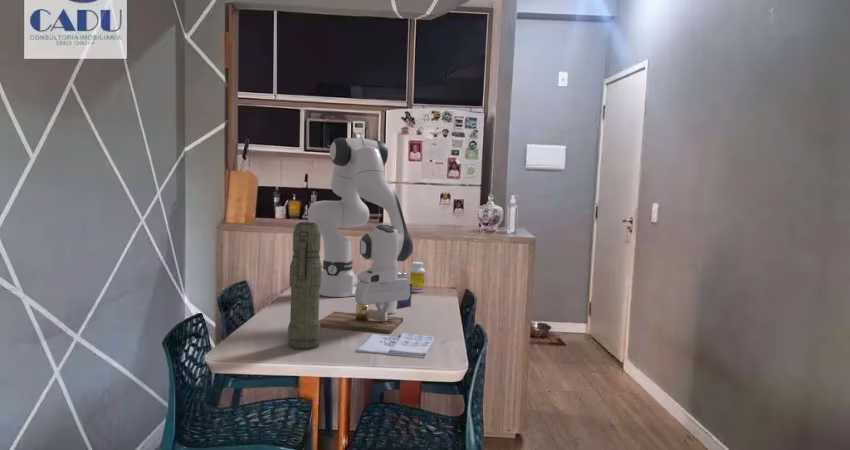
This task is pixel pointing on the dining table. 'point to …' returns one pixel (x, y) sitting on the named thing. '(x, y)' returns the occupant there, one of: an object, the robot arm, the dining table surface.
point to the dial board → (359, 323)
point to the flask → (405, 302)
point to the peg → (369, 313)
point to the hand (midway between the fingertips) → (382, 315)
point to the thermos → (305, 287)
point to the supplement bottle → (417, 277)
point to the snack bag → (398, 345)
